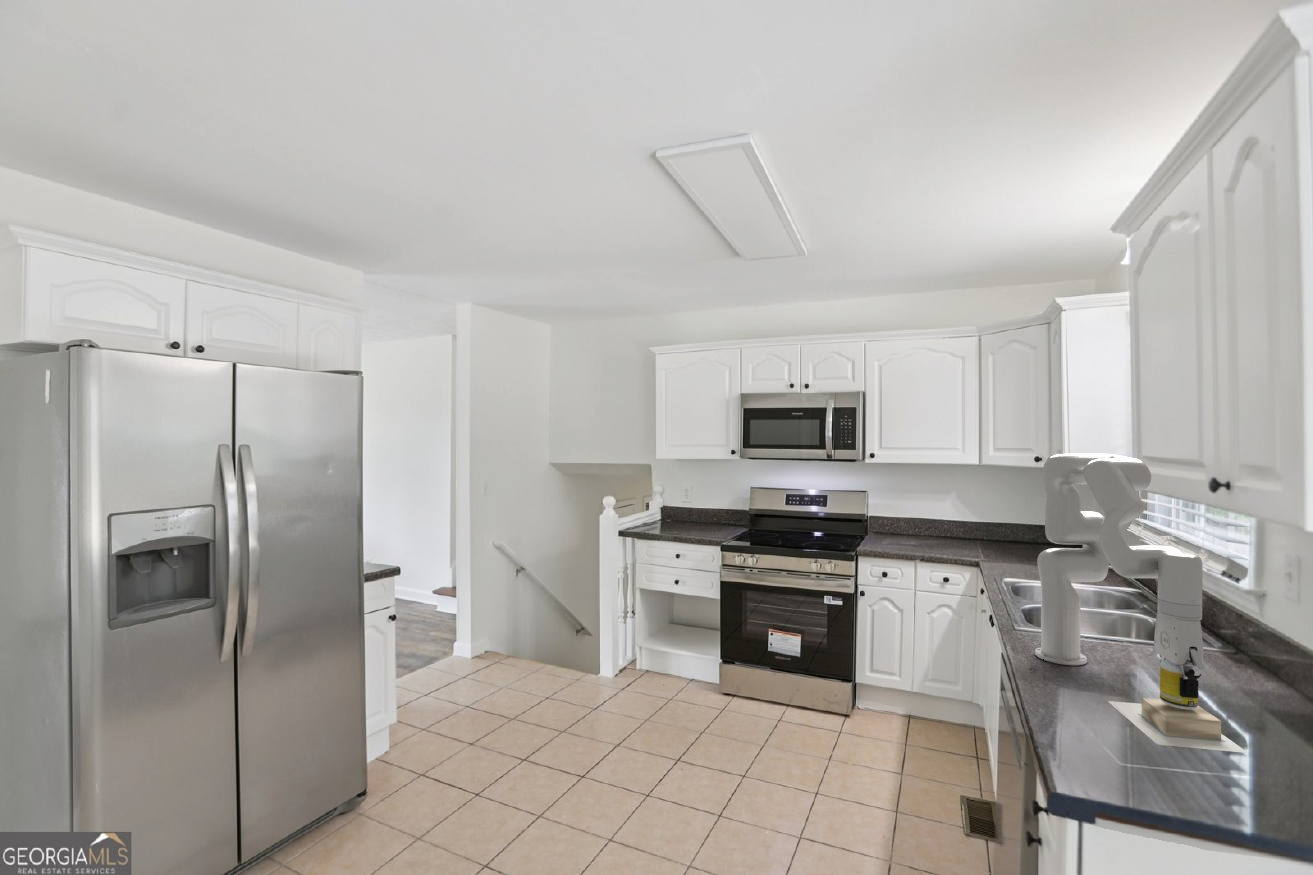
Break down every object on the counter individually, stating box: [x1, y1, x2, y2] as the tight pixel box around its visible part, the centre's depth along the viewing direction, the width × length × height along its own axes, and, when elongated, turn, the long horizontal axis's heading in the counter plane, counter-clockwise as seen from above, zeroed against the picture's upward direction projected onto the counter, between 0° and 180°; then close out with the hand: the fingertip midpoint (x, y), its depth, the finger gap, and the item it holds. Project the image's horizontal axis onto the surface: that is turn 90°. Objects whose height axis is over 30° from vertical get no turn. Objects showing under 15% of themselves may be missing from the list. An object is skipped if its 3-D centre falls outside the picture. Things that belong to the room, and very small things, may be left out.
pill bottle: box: [1159, 659, 1199, 709], centre depth 139 cm, size 6×6×12 cm
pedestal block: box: [1141, 697, 1222, 740], centre depth 139 cm, size 10×10×4 cm
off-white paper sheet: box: [1107, 700, 1249, 754], centre depth 140 cm, size 22×16×1 cm
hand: (1179, 689), depth 139 cm, fingers closed on pill bottle, 6 cm apart
